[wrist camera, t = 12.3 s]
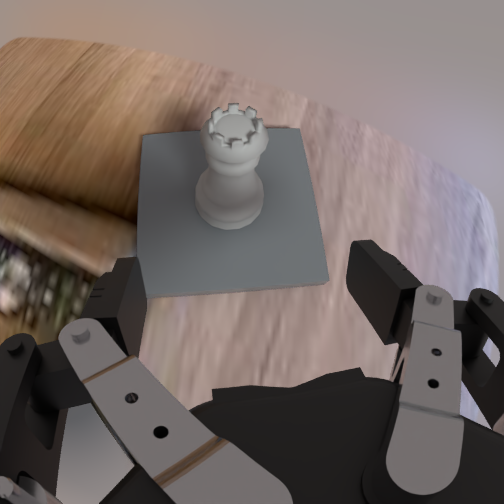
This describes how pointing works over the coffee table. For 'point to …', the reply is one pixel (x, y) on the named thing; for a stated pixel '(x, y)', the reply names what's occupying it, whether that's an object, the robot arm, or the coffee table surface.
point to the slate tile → (219, 240)
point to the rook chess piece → (231, 168)
